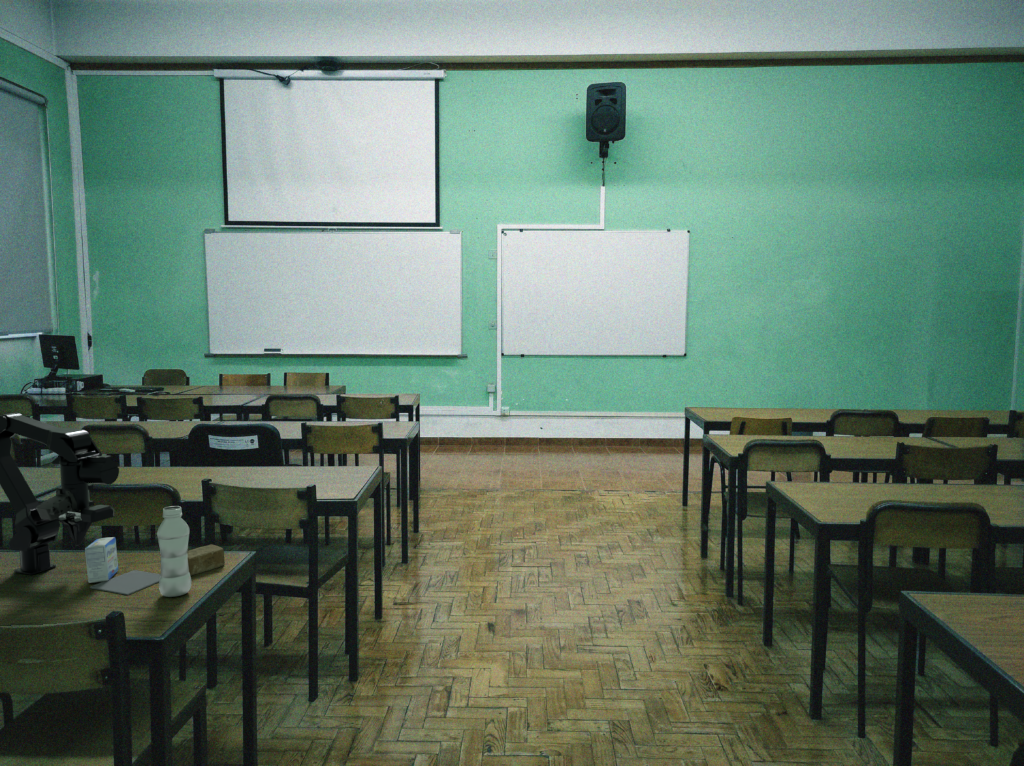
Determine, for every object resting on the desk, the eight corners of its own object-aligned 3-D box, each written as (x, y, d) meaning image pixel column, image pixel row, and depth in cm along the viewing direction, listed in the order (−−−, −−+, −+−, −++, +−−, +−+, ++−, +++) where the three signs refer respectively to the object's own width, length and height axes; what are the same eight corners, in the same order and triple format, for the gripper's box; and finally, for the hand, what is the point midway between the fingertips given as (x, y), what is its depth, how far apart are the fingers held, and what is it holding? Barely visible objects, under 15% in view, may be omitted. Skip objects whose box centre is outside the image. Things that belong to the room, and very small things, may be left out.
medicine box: (108, 581, 165) (105, 545, 165) (87, 583, 164) (84, 547, 164) (118, 570, 173) (115, 536, 173) (98, 573, 172) (95, 538, 171)
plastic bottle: (166, 589, 161) (162, 504, 159) (196, 589, 161) (193, 504, 160) (153, 600, 155) (149, 512, 153) (185, 600, 155) (181, 511, 153)
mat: (89, 588, 162) (89, 586, 162) (134, 571, 173) (134, 569, 173) (127, 595, 158) (127, 593, 158) (170, 577, 169) (170, 576, 169)
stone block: (171, 574, 172) (170, 554, 171) (214, 561, 181) (213, 542, 181) (185, 579, 168) (184, 558, 168) (227, 565, 178) (227, 546, 178)
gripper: (14, 486, 166) (18, 550, 167) (70, 493, 159) (74, 560, 160) (60, 476, 176) (63, 537, 177) (114, 482, 169) (117, 545, 171)
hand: (78, 545), depth 171 cm, fingers closed
